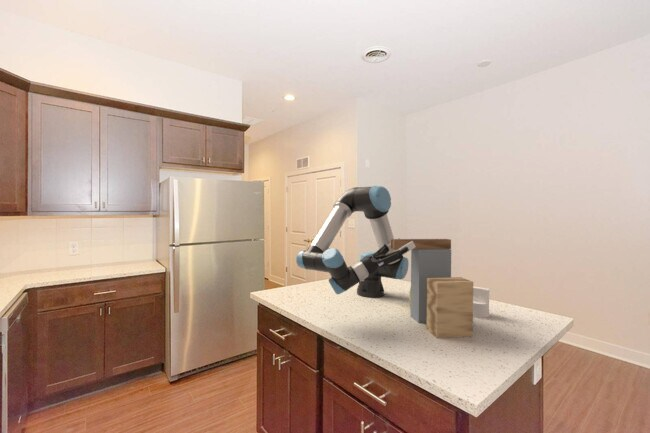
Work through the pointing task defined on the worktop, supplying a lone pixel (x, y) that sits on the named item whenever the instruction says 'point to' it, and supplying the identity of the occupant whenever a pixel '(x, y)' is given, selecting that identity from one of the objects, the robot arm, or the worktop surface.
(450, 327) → the oak block
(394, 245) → the walnut block
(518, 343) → the worktop surface
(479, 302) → the cylinder with rectangular tab
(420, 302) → the slate-grey stand
